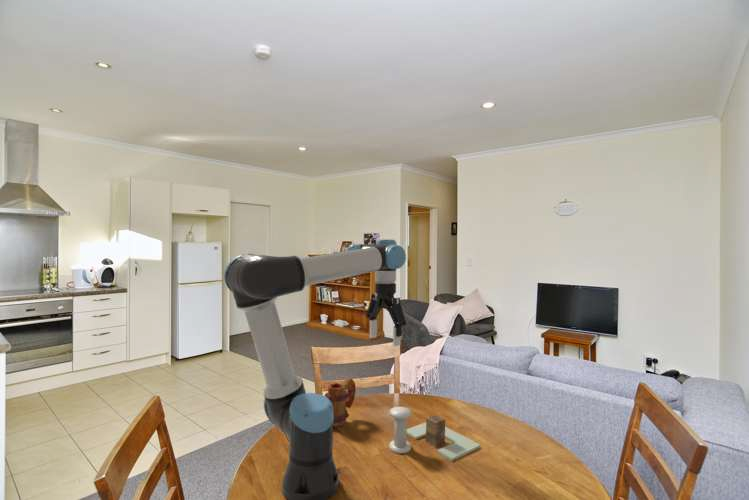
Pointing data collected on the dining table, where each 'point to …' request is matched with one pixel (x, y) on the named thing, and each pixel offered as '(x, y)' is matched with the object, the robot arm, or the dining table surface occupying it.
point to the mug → (341, 399)
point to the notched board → (459, 444)
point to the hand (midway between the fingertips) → (384, 341)
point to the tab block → (435, 430)
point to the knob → (400, 430)
